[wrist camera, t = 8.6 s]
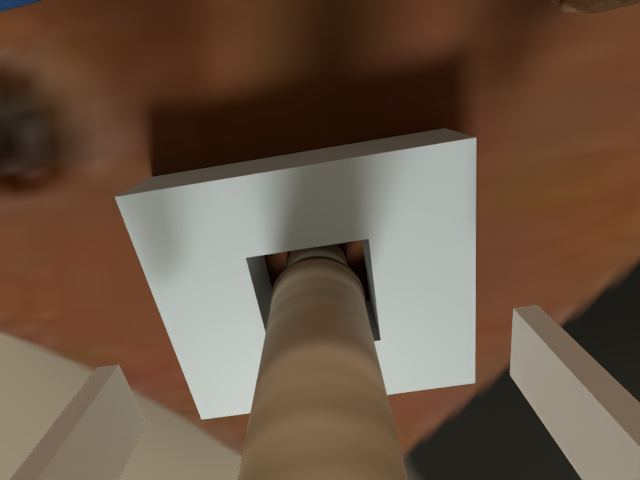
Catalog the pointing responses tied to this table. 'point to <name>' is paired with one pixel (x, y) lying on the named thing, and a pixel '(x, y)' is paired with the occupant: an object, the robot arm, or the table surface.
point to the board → (307, 232)
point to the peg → (320, 381)
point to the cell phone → (14, 4)
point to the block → (591, 5)
